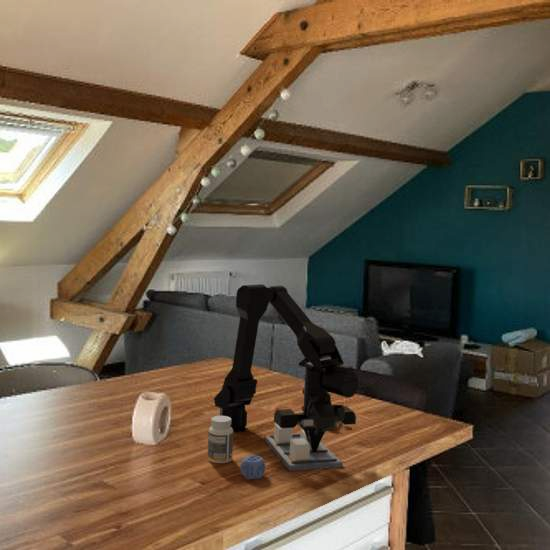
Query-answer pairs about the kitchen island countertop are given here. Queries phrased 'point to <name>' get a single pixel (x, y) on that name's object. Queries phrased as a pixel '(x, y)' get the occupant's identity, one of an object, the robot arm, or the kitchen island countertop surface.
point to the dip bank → (316, 460)
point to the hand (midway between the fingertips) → (313, 452)
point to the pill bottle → (220, 440)
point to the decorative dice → (253, 467)
